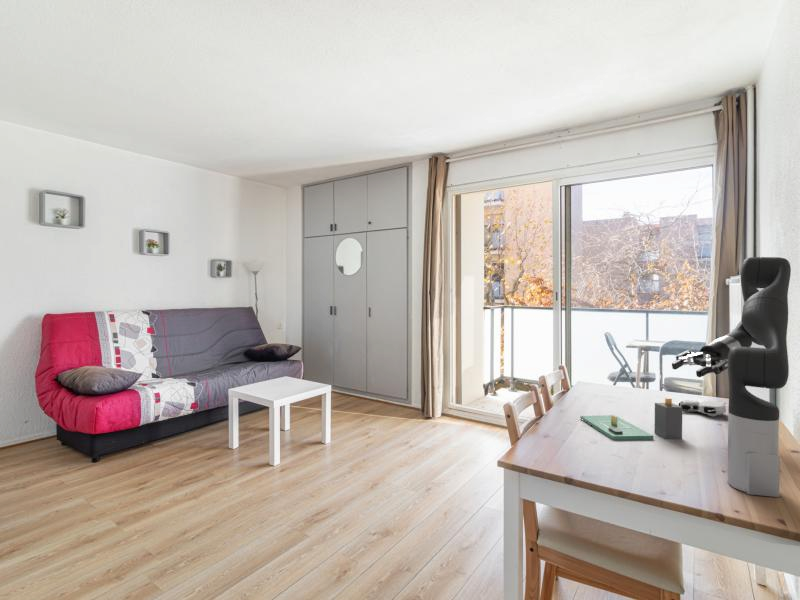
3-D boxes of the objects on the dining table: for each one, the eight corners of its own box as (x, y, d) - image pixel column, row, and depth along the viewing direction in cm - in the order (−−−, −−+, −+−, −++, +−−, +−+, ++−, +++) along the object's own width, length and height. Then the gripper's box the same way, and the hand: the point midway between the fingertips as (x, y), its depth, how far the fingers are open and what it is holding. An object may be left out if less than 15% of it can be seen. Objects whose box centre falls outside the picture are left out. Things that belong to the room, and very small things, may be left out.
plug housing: (682, 438, 134) (682, 400, 134) (665, 438, 134) (665, 401, 134) (670, 432, 139) (670, 396, 139) (654, 433, 139) (654, 396, 139)
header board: (653, 439, 133) (653, 426, 133) (613, 440, 133) (613, 426, 132) (615, 418, 155) (615, 407, 155) (580, 419, 155) (580, 407, 154)
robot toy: (675, 414, 164) (723, 420, 153) (674, 403, 164) (722, 407, 153) (682, 408, 172) (728, 413, 162) (681, 397, 172) (727, 401, 162)
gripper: (698, 336, 147) (663, 354, 144) (742, 345, 134) (704, 366, 130) (702, 355, 149) (667, 374, 145) (745, 366, 136) (708, 387, 132)
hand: (685, 370), depth 138 cm, fingers open, 8 cm apart
